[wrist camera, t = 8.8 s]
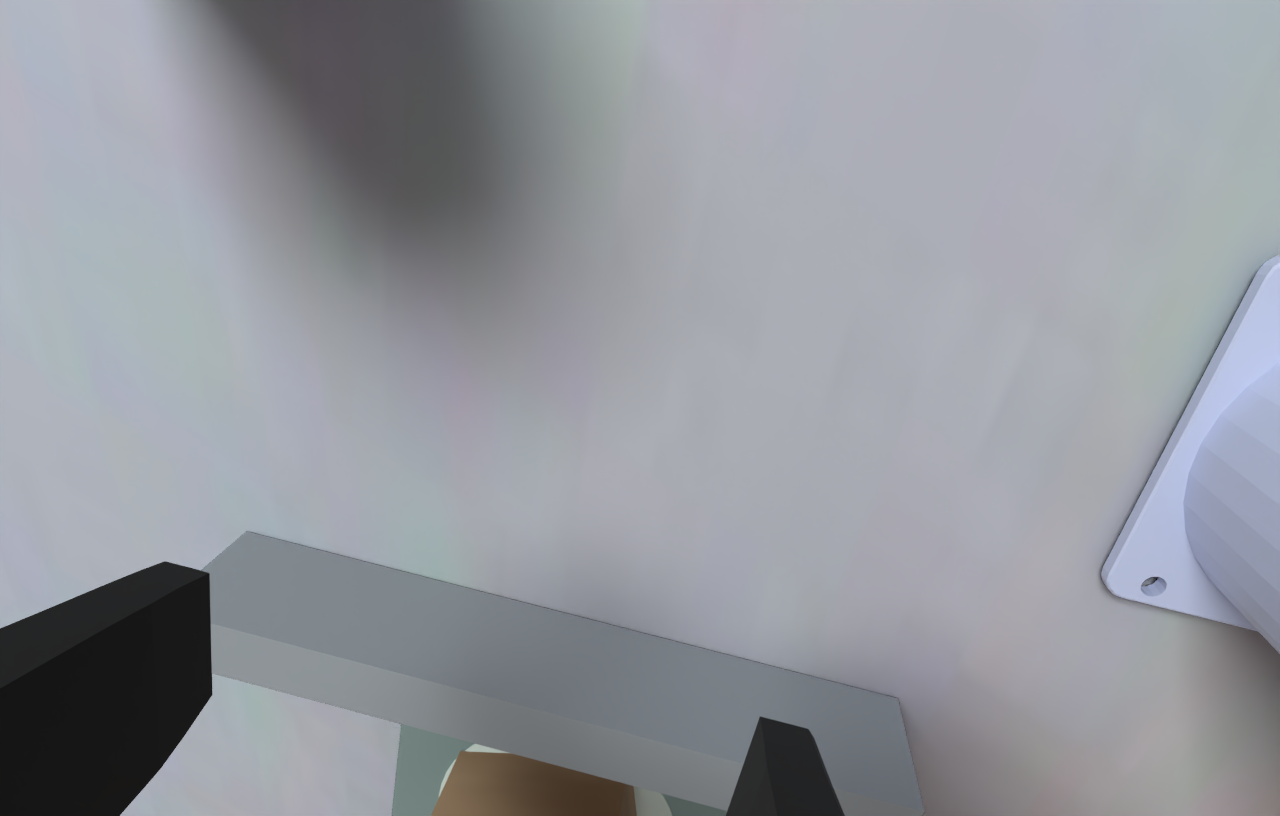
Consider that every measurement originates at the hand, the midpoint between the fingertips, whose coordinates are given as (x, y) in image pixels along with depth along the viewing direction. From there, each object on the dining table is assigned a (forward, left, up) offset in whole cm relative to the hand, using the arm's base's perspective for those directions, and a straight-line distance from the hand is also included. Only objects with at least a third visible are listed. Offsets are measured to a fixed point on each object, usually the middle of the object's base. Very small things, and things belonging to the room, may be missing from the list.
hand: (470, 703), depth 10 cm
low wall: (0, +7, -9) cm, 11 cm away
